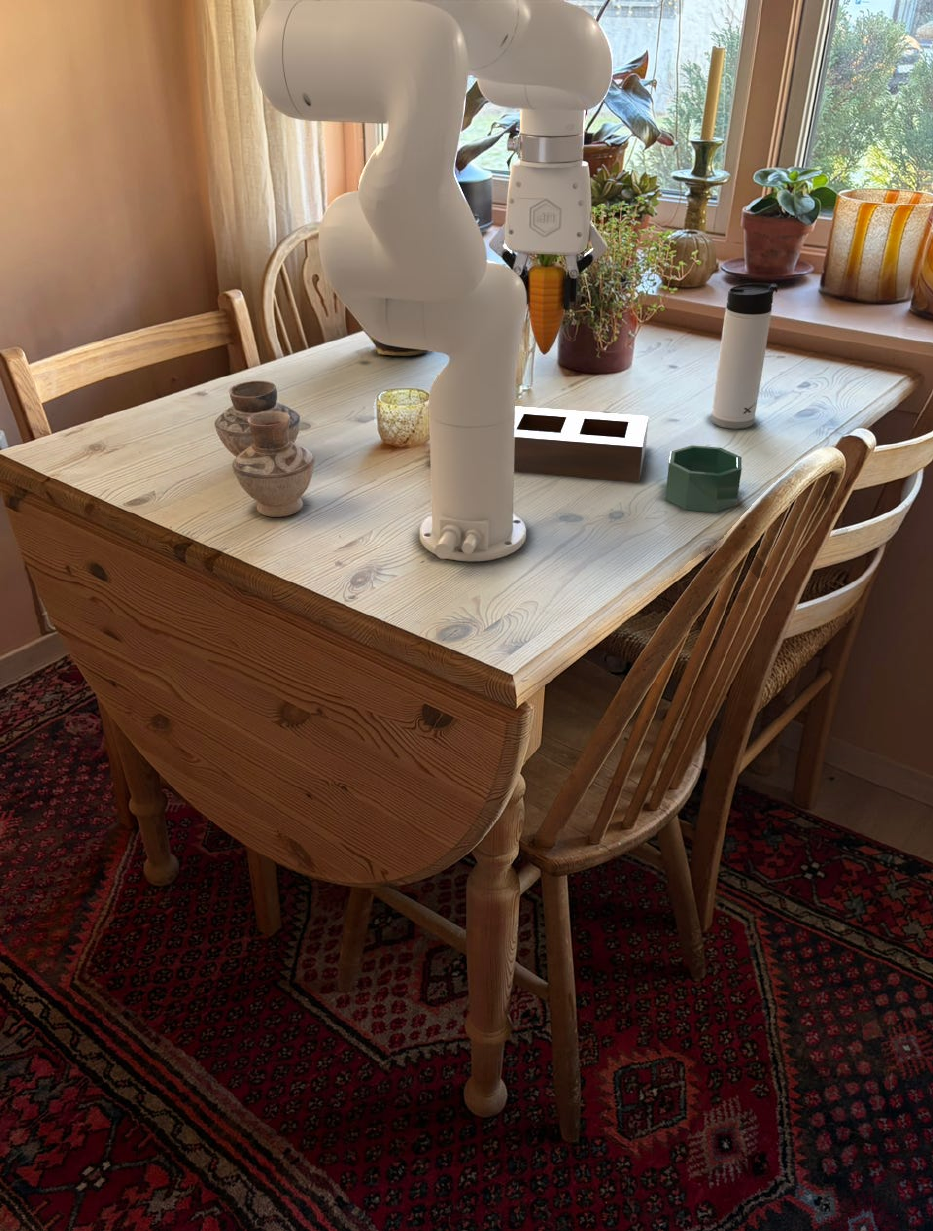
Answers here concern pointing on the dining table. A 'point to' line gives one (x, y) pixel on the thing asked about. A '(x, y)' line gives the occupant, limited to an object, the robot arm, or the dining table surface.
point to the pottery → (266, 448)
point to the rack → (580, 443)
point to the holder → (703, 478)
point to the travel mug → (742, 354)
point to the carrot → (546, 300)
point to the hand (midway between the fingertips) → (546, 305)
